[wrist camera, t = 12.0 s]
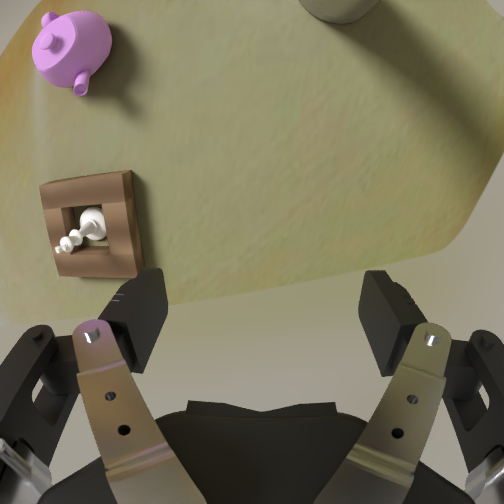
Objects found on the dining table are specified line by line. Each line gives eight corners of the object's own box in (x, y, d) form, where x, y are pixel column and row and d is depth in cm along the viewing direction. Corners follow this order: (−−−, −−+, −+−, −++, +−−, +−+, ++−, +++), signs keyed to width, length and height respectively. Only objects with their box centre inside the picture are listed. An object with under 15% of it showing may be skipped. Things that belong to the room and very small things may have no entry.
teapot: (100, 0, 25) (66, -21, 17) (140, 74, 31) (106, 63, 22) (46, 45, 28) (6, 37, 19) (79, 119, 33) (37, 123, 24)
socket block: (50, 181, 36) (39, 186, 33) (131, 170, 36) (121, 174, 33) (68, 267, 42) (59, 276, 39) (145, 268, 41) (138, 278, 39)
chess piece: (112, 239, 40) (78, 271, 31) (85, 239, 40) (48, 269, 31) (107, 205, 38) (69, 230, 29) (79, 207, 38) (38, 232, 29)
